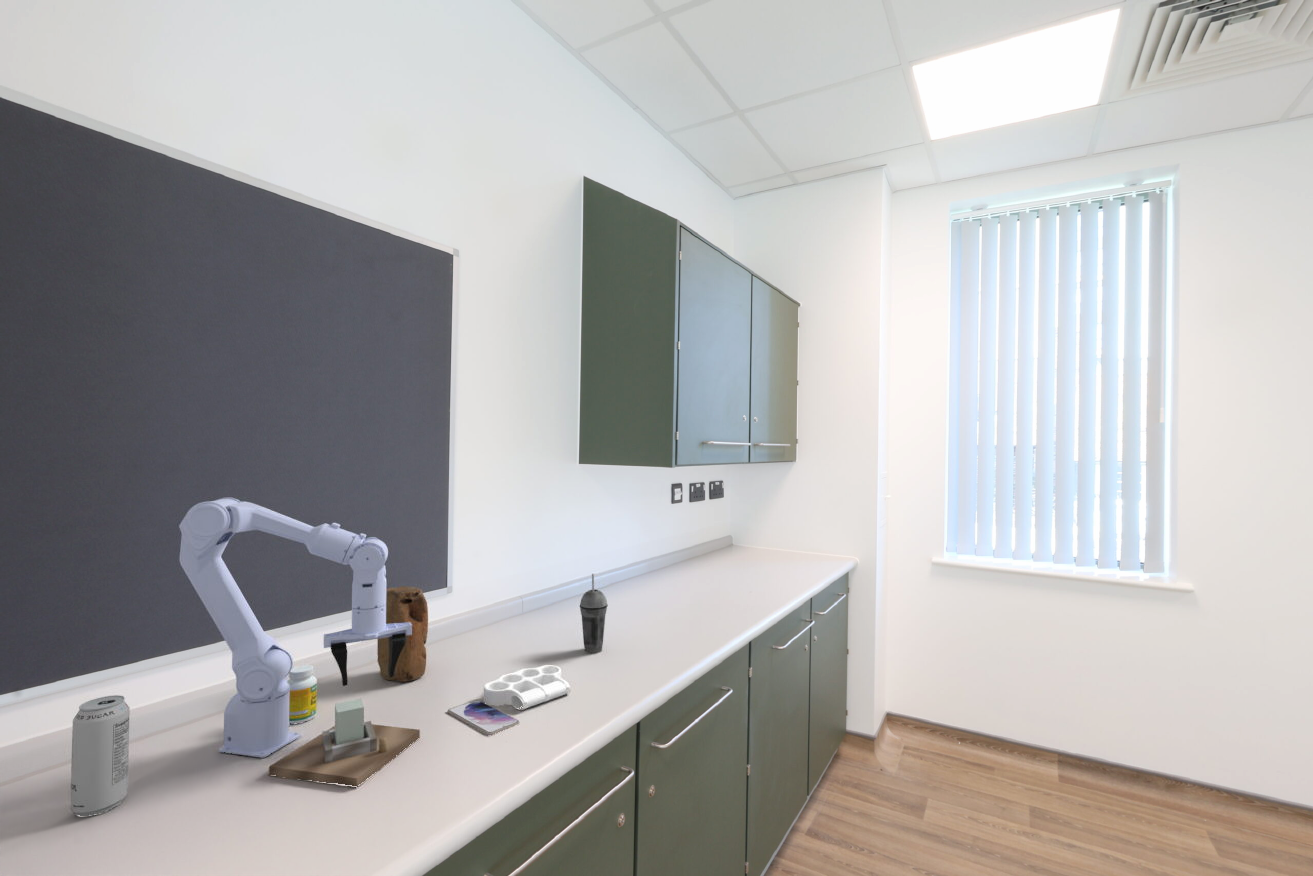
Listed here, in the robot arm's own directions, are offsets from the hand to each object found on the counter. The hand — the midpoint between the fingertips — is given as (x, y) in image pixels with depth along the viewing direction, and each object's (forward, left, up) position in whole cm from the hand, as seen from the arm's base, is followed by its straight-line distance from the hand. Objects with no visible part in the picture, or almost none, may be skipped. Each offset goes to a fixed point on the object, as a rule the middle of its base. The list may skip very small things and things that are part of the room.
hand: (368, 679), depth 108 cm
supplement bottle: (-16, +2, -10) cm, 19 cm away
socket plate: (+3, -8, -9) cm, 13 cm away
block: (-10, +25, -10) cm, 28 cm away
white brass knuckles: (+22, +22, -10) cm, 33 cm away
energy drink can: (-22, -28, -10) cm, 37 cm away
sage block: (+3, -8, -8) cm, 12 cm away
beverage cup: (+27, +51, -10) cm, 58 cm away
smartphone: (+18, +10, -10) cm, 23 cm away
